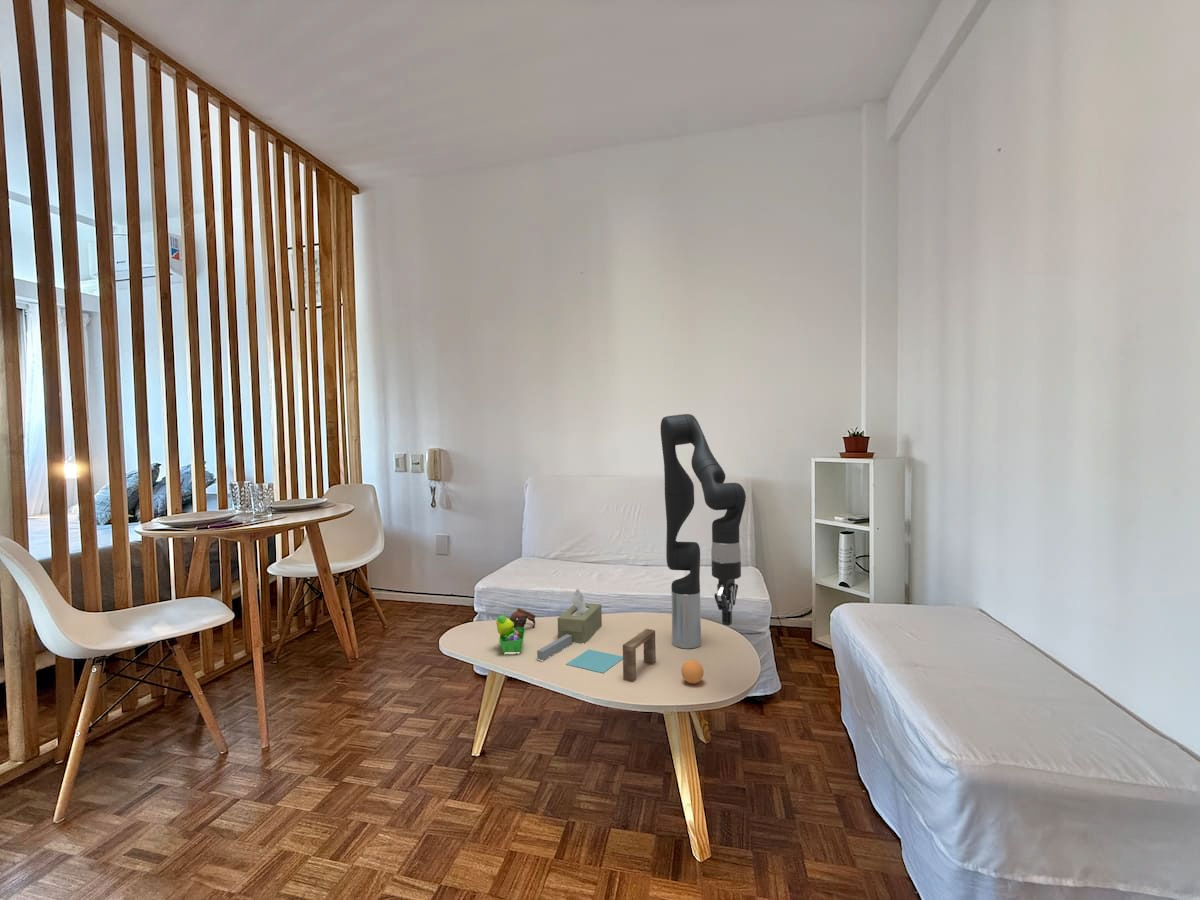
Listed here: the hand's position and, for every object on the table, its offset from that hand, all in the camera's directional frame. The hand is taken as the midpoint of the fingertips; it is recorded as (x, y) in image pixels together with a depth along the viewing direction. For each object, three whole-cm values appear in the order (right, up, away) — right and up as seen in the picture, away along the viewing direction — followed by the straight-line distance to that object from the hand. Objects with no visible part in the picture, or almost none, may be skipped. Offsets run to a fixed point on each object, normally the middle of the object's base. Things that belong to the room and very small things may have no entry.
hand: (727, 624), depth 141 cm
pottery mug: (-62, -19, +51) cm, 82 cm away
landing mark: (-35, -18, +21) cm, 44 cm away
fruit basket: (-62, -19, +32) cm, 72 cm away
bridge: (-22, -18, +13) cm, 31 cm away
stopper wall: (-48, -18, +29) cm, 59 cm away
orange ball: (-8, -15, +5) cm, 18 cm away
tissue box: (-40, -18, +46) cm, 64 cm away
